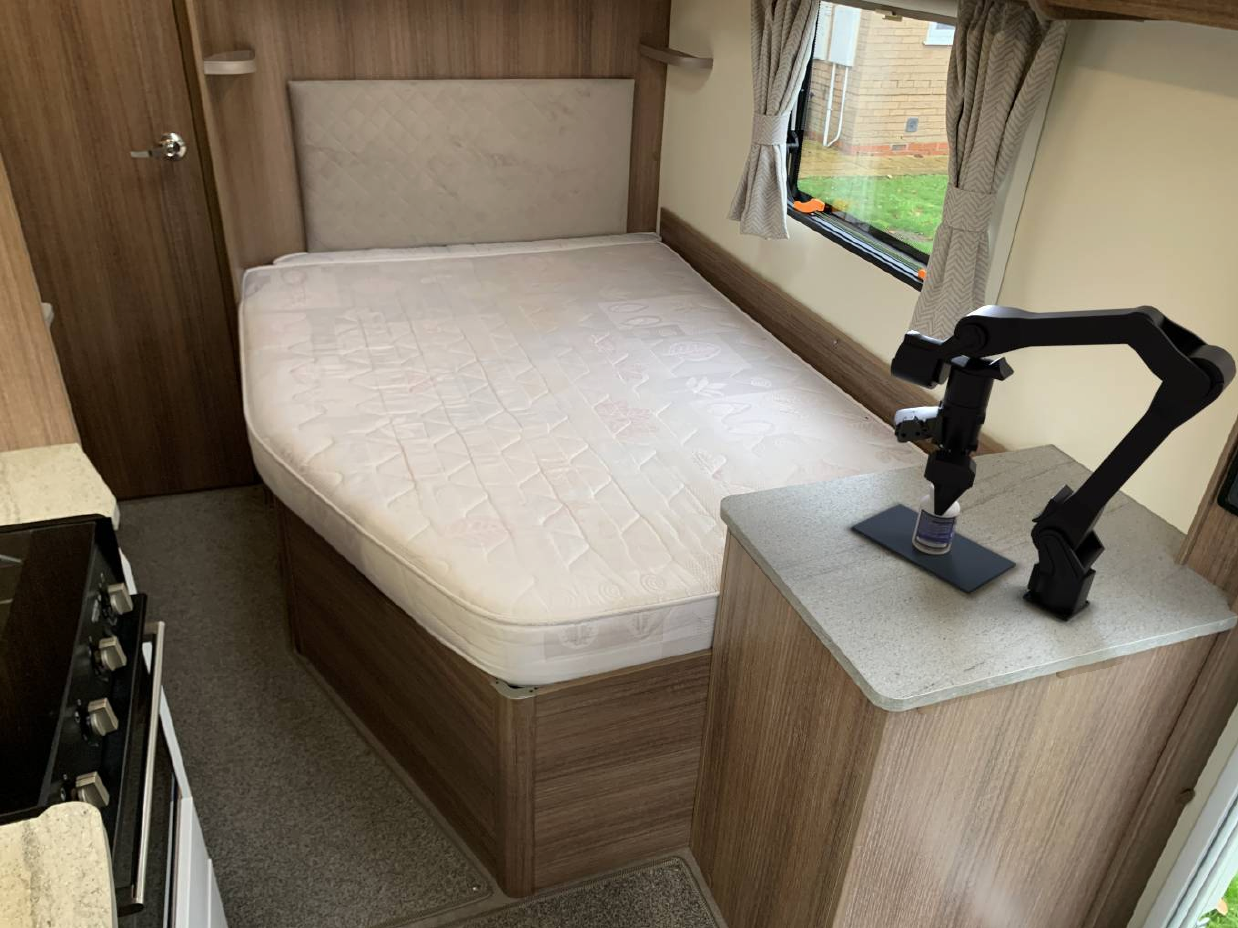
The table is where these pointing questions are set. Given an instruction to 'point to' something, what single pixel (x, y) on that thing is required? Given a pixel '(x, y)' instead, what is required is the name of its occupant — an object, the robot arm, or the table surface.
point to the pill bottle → (934, 526)
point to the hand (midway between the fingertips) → (940, 499)
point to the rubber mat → (957, 567)
